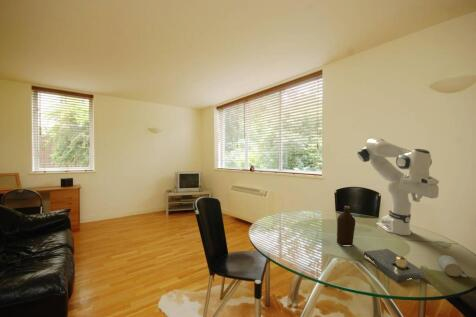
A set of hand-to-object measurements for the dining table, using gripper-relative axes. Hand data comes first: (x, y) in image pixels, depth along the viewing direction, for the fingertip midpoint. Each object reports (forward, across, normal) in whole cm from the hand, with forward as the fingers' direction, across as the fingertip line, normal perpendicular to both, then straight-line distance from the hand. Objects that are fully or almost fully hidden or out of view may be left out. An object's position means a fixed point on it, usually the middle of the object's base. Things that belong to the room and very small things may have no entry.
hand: (415, 201), depth 129 cm
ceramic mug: (+33, +18, +6) cm, 38 cm away
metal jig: (+33, +8, -21) cm, 40 cm away
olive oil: (+33, -20, -29) cm, 48 cm away
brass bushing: (+33, +13, -21) cm, 41 cm away
